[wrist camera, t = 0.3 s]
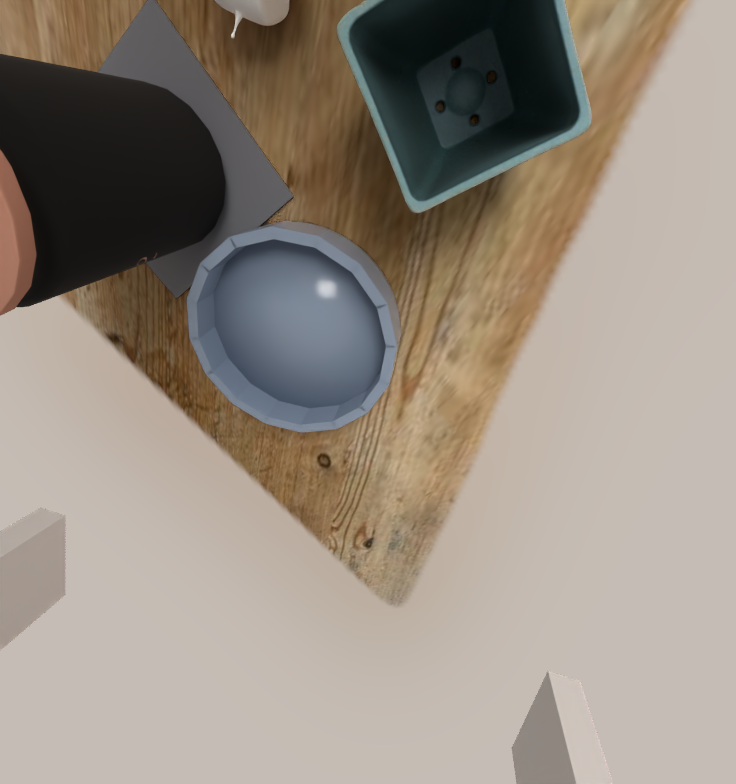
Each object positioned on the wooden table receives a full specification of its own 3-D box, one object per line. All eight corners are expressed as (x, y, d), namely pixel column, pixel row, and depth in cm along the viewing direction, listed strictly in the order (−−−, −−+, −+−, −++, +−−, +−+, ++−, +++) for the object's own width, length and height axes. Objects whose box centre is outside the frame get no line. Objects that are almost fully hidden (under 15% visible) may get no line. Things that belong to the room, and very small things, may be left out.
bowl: (314, 171, 30) (298, 174, 27) (440, 357, 35) (437, 376, 32) (173, 296, 37) (147, 310, 34) (294, 435, 42) (281, 458, 39)
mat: (152, -5, 27) (151, -5, 27) (294, 196, 31) (293, 196, 31) (47, 147, 33) (45, 147, 33) (177, 297, 37) (176, 298, 37)
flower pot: (425, 199, 30) (411, 218, 22) (369, 57, 26) (330, 22, 19) (558, 132, 26) (595, 128, 19) (514, -40, 23) (537, -129, 16)
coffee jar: (93, 207, 34) (-204, 258, 19) (105, 52, 29) (-301, -50, 14) (215, 269, 35) (21, 366, 20) (249, 128, 29) (16, 113, 14)
